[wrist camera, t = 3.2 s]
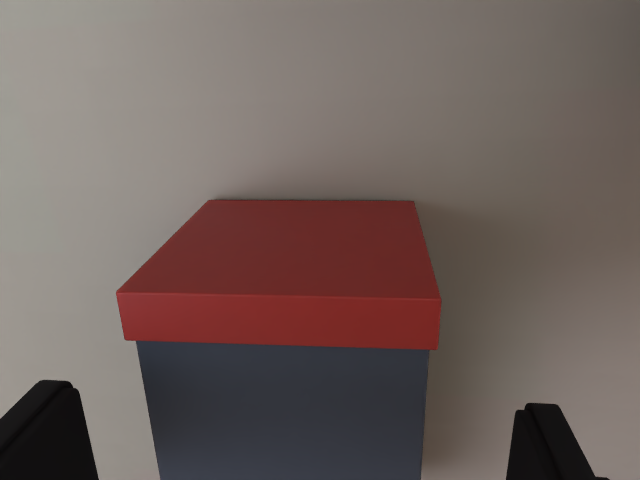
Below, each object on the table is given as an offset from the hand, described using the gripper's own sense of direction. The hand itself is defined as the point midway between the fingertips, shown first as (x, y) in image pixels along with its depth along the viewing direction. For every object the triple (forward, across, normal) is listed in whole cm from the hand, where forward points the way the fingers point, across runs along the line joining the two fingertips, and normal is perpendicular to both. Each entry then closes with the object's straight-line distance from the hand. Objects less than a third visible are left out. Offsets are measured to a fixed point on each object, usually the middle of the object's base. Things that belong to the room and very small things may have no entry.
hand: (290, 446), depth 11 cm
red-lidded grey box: (+7, 0, +2) cm, 8 cm away
